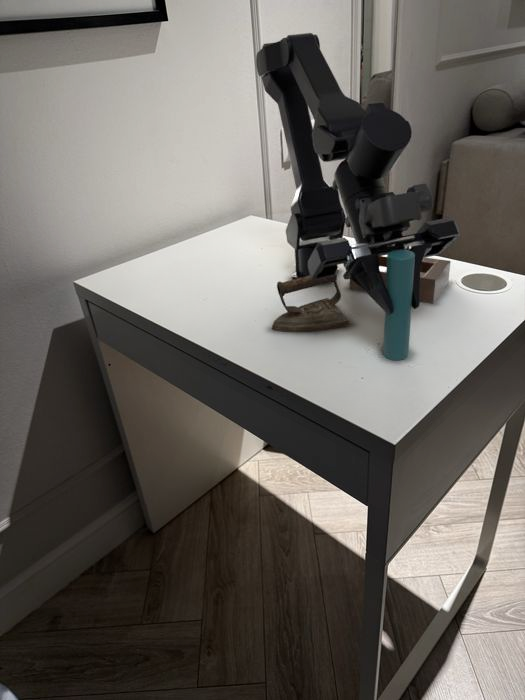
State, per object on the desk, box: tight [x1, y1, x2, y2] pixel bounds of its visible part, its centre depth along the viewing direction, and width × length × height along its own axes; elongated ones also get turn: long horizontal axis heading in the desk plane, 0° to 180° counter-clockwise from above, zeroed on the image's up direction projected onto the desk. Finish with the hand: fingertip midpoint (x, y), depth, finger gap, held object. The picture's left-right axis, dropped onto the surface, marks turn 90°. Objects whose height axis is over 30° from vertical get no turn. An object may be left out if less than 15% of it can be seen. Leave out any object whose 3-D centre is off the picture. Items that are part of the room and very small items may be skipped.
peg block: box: [349, 255, 452, 304], centre depth 85 cm, size 14×8×4 cm, turn 57°
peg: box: [382, 250, 415, 361], centre depth 65 cm, size 3×3×14 cm
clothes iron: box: [271, 272, 351, 333], centre depth 76 cm, size 7×11×10 cm, turn 107°
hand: (403, 311), depth 64 cm, fingers closed on peg, 3 cm apart
